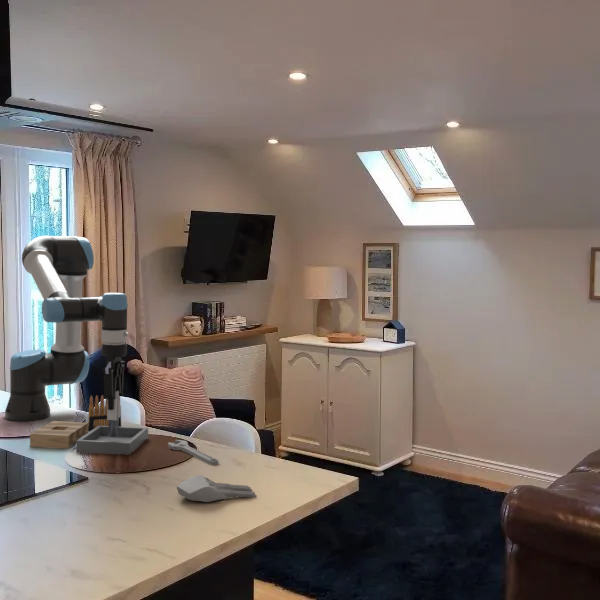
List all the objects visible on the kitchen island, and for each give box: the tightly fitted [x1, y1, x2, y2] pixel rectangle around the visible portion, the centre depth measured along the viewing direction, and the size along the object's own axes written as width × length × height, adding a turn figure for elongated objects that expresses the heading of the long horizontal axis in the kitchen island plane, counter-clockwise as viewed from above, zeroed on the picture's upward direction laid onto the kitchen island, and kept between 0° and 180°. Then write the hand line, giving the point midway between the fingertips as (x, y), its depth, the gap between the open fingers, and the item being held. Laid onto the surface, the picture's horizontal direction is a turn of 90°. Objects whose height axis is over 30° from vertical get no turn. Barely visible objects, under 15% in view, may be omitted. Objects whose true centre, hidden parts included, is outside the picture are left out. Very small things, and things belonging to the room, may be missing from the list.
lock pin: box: [109, 390, 119, 437], centre depth 219 cm, size 3×3×14 cm
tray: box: [75, 426, 149, 456], centre depth 220 cm, size 18×16×4 cm
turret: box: [176, 474, 257, 503], centre depth 177 cm, size 10×20×5 cm, turn 109°
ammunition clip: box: [87, 394, 122, 432], centre depth 237 cm, size 11×2×12 cm, turn 113°
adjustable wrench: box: [167, 439, 219, 466], centre depth 212 cm, size 25×6×2 cm, turn 35°
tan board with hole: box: [29, 420, 89, 450], centre depth 223 cm, size 16×12×4 cm
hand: (113, 418), depth 219 cm, fingers closed on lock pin, 3 cm apart
